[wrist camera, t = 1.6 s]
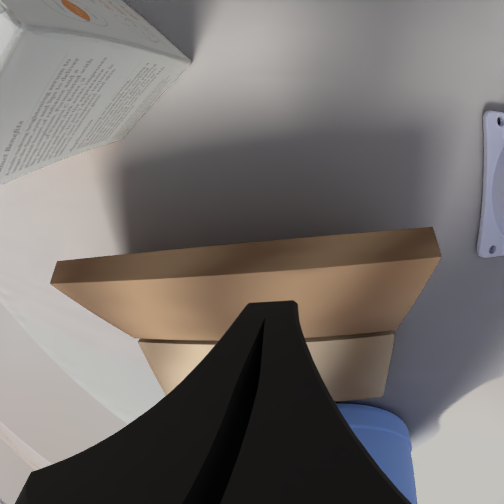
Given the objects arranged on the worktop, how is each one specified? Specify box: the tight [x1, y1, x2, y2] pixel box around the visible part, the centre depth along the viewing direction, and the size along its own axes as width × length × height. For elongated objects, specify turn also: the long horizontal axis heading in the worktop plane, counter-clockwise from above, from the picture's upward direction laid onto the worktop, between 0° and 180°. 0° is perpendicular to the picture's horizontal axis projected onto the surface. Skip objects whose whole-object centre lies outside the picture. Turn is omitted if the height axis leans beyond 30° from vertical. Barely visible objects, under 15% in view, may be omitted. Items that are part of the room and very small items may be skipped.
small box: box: [0, 0, 192, 186], centre depth 8 cm, size 8×6×10 cm
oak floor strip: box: [138, 330, 395, 401], centre depth 19 cm, size 16×6×1 cm, turn 99°
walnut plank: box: [50, 227, 442, 340], centre depth 14 cm, size 16×8×1 cm
